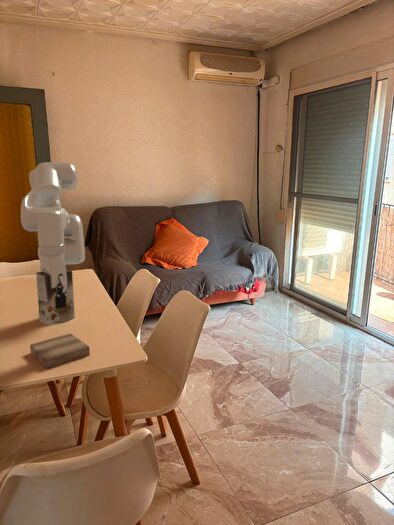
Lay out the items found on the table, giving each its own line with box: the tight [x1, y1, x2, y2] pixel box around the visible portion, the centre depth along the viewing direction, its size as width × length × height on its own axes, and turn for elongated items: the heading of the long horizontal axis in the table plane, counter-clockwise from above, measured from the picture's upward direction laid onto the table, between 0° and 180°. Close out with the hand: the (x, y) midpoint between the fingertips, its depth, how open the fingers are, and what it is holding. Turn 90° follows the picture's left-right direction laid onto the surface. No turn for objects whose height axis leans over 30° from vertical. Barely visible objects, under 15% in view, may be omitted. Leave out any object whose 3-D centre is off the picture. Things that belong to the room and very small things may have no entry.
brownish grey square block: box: [29, 333, 91, 370], centre depth 130 cm, size 14×14×3 cm
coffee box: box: [35, 268, 76, 326], centre depth 126 cm, size 9×6×16 cm
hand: (56, 304), depth 126 cm, fingers closed on coffee box, 6 cm apart
